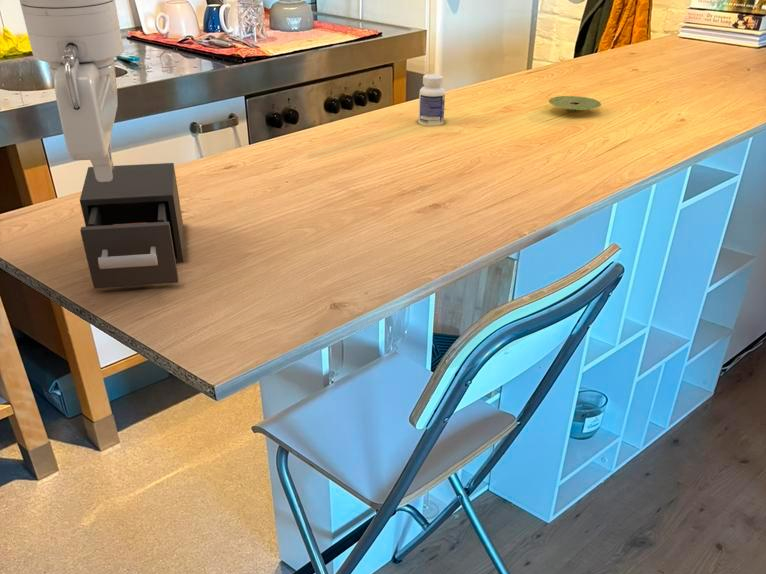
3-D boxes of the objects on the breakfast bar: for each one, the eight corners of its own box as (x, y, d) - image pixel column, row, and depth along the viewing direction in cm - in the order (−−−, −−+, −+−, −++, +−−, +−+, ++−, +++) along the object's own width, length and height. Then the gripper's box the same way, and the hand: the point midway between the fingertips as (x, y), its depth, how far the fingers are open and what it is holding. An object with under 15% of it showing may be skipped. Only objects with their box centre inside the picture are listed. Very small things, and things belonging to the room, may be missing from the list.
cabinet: (183, 263, 115) (173, 194, 109) (95, 269, 113) (79, 200, 107) (183, 227, 125) (173, 162, 119) (102, 232, 123) (88, 166, 117)
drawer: (178, 296, 105) (168, 237, 100) (91, 303, 103) (76, 243, 98) (178, 245, 117) (169, 191, 112) (100, 250, 116) (88, 195, 111)
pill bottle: (446, 126, 168) (449, 78, 162) (422, 127, 167) (423, 79, 161) (439, 119, 172) (441, 72, 166) (415, 120, 171) (417, 73, 165)
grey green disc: (551, 102, 183) (552, 93, 181) (602, 107, 180) (603, 97, 179) (543, 116, 174) (545, 106, 173) (596, 121, 172) (598, 111, 171)
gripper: (100, 56, 73) (131, 209, 82) (114, 15, 89) (138, 148, 98) (27, 58, 72) (66, 213, 81) (54, 17, 88) (84, 151, 97)
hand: (105, 177), depth 90 cm, fingers closed
